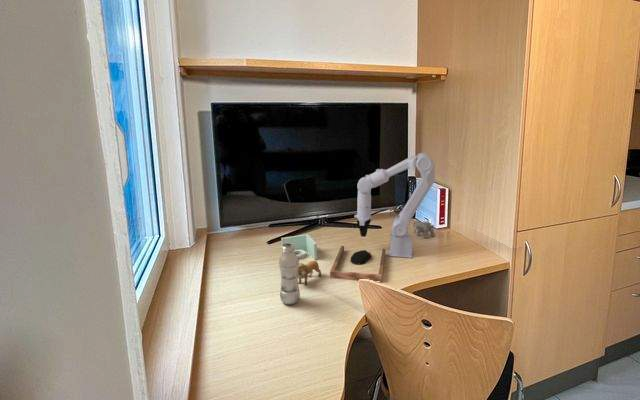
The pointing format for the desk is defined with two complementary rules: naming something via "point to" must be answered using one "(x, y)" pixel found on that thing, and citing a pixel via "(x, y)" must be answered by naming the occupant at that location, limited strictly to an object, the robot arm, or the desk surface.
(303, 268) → the lion figurine
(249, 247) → the desk surface
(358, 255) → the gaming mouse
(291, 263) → the plastic bottle
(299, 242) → the l-shaped corner panel
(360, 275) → the u-shaped frame
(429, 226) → the gray elephant figurine
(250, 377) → the desk surface
